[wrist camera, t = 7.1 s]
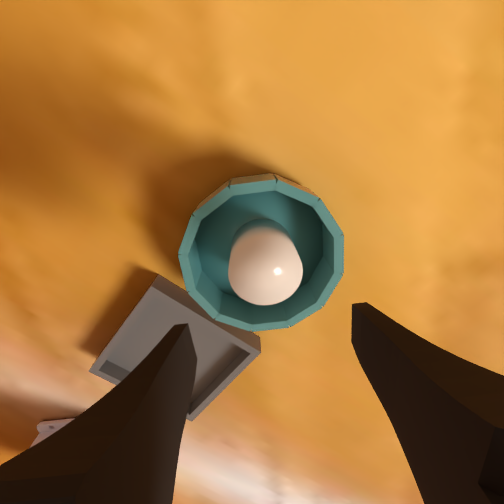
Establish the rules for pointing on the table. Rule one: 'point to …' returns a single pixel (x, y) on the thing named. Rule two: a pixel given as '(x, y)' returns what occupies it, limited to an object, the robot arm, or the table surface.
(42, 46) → the table surface
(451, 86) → the table surface
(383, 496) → the table surface
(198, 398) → the parts tray
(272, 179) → the bowl
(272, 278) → the stone
